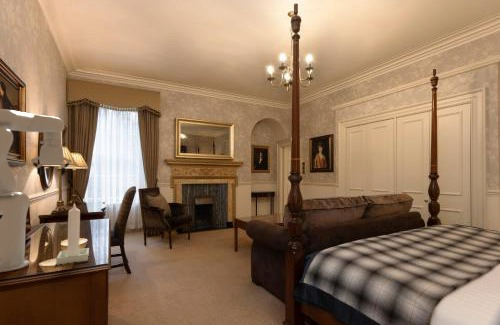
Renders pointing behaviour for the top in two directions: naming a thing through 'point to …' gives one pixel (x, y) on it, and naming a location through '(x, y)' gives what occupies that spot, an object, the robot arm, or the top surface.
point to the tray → (72, 257)
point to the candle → (73, 231)
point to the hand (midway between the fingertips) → (51, 175)
